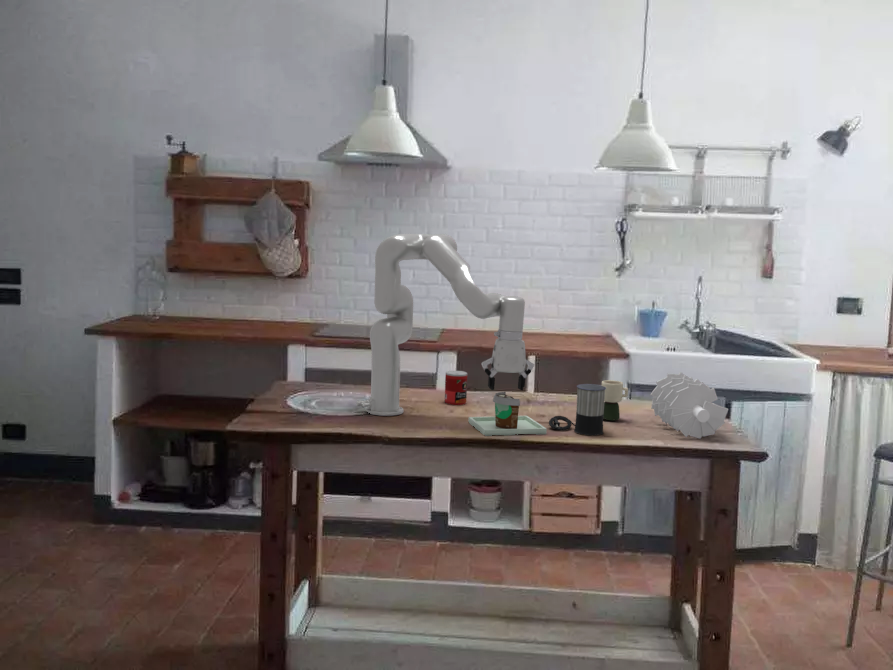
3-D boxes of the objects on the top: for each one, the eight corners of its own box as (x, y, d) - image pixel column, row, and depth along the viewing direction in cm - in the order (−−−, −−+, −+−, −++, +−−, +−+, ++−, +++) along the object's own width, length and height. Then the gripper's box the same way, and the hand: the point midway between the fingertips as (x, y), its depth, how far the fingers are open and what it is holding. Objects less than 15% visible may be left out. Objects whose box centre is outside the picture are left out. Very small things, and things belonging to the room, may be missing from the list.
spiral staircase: (686, 453, 292) (657, 430, 316) (737, 429, 292) (704, 408, 317) (666, 401, 287) (638, 382, 312) (718, 377, 288) (686, 360, 313)
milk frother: (608, 435, 294) (611, 389, 292) (561, 437, 290) (563, 390, 288) (589, 425, 308) (592, 380, 306) (544, 426, 303) (546, 381, 301)
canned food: (458, 406, 329) (459, 375, 328) (439, 402, 334) (441, 372, 332) (470, 403, 335) (472, 372, 334) (452, 399, 340) (454, 369, 338)
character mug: (623, 418, 320) (625, 380, 318) (628, 422, 313) (631, 384, 311) (591, 417, 319) (594, 379, 317) (596, 422, 312) (598, 383, 310)
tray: (485, 436, 288) (485, 430, 287) (468, 422, 305) (468, 417, 305) (546, 434, 293) (546, 428, 293) (526, 420, 310) (526, 415, 310)
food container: (486, 422, 303) (487, 391, 302) (503, 421, 305) (504, 391, 304) (500, 431, 292) (501, 399, 290) (518, 430, 294) (520, 399, 292)
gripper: (487, 337, 289) (483, 391, 292) (540, 338, 294) (535, 392, 296) (480, 333, 296) (476, 386, 299) (532, 334, 301) (527, 387, 303)
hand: (506, 389), depth 297 cm, fingers open, 9 cm apart
